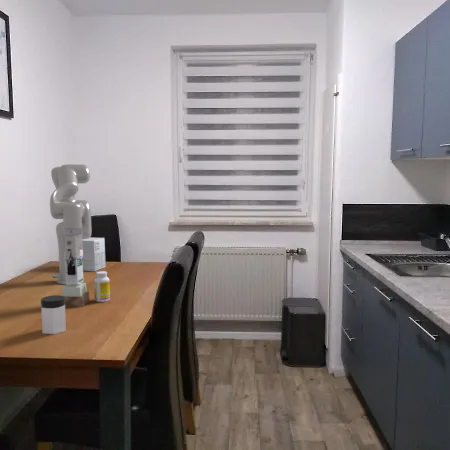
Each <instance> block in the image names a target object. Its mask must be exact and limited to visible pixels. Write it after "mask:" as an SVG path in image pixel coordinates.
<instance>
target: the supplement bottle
mask: <svg viewBox="0 0 450 450" xmlns="http://www.w3.org/2000/svg"><path fill="white" fill-rule="evenodd" d="M95 272H96V273H95V276H96V277H95V278H94V279H93V280H94V281H93V284H94V285H93V286H94V287H93V288H94V290H93V291H94V301H95V302H97V303H105V302H108V301H110V300H111V287H110V285H111V283H110V282H111V281H110V278H109V277H108V276H107V275H108V271H106V270H105V271H104V270H102V271H101V270H98V271H95Z"/></svg>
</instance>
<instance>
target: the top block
mask: <svg viewBox="0 0 450 450" xmlns="http://www.w3.org/2000/svg"><path fill="white" fill-rule="evenodd" d="M87 290H88V289H87V282H81V283H79V284H78V285H77V284H63V286H61V296H66V297H81V296H82V295H83V294H85V293H86V292H88V291H87Z"/></svg>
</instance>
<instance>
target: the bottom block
mask: <svg viewBox="0 0 450 450" xmlns="http://www.w3.org/2000/svg"><path fill="white" fill-rule="evenodd" d="M64 297H65V308H69V307H75V308H78V307H80V308H81V307H82V308H83V307H84V306H86V304H87V303H88V302H89V301H90V292H89V291H87V292H86V293H85V294H83V295H82V296H81V297H66V296H64Z"/></svg>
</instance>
